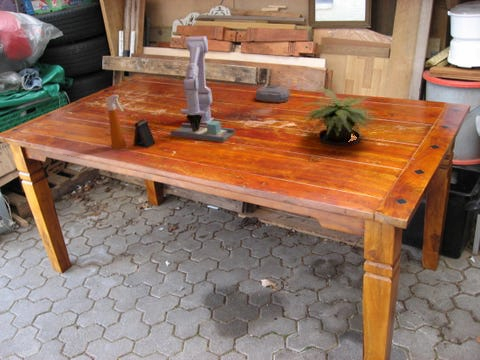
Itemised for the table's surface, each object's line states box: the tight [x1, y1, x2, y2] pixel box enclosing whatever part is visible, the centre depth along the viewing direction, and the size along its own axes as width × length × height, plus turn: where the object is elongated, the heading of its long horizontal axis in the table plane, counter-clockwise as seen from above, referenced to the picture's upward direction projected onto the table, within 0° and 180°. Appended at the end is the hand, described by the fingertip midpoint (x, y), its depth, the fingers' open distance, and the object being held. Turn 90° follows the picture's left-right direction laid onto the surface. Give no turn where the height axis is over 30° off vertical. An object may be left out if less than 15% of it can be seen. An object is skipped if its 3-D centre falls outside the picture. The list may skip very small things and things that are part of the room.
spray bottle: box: [104, 94, 128, 150], centre depth 213 cm, size 7×11×26 cm, turn 58°
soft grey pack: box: [255, 84, 291, 104], centre depth 269 cm, size 15×8×20 cm
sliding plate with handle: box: [190, 121, 227, 136], centre depth 224 cm, size 17×9×5 cm, turn 64°
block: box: [206, 120, 222, 135], centre depth 222 cm, size 5×5×5 cm
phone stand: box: [133, 118, 156, 149], centre depth 217 cm, size 9×6×12 cm, turn 59°
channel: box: [170, 122, 235, 143], centre depth 226 cm, size 30×12×2 cm, turn 65°
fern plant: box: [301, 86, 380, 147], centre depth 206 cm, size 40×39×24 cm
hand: (195, 128), depth 227 cm, fingers closed on sliding plate with handle, 2 cm apart
